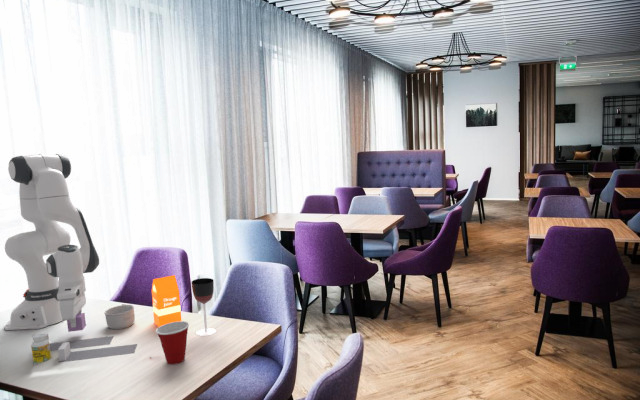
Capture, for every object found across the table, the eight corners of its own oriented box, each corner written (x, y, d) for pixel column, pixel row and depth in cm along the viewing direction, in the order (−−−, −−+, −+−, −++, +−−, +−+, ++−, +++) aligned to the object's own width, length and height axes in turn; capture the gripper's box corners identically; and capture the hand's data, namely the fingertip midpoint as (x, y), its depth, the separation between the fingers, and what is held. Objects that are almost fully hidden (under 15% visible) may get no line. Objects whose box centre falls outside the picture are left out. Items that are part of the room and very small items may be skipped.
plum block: (68, 331, 184) (66, 318, 183) (71, 327, 189) (70, 314, 188) (82, 330, 185) (81, 317, 184) (85, 325, 190) (84, 312, 189)
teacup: (128, 332, 191) (127, 313, 190) (101, 333, 192) (99, 313, 191) (142, 320, 205) (140, 301, 204) (116, 320, 205) (115, 302, 204)
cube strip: (37, 355, 173) (35, 341, 172) (44, 346, 180) (43, 333, 180) (109, 346, 178) (108, 333, 177) (114, 338, 185) (112, 325, 185)
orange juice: (182, 325, 196) (178, 277, 194) (159, 331, 192) (155, 281, 189) (175, 320, 203) (172, 273, 201) (154, 325, 198) (150, 277, 196)
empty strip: (58, 365, 164) (56, 350, 163) (65, 355, 172) (63, 341, 171) (134, 355, 169) (133, 341, 169) (137, 346, 177) (136, 333, 176)
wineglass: (202, 337, 183) (198, 285, 181) (191, 331, 189) (187, 281, 187) (221, 331, 188) (217, 281, 186) (209, 326, 195) (206, 276, 192)
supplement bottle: (53, 358, 171) (50, 331, 169) (48, 364, 165) (45, 337, 164) (36, 360, 169) (33, 333, 168) (31, 366, 164) (27, 339, 163)
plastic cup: (164, 354, 170) (161, 320, 169) (195, 353, 170) (193, 319, 168) (153, 368, 159) (150, 332, 158) (186, 367, 159) (183, 331, 157)
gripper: (70, 282, 194) (74, 316, 196) (55, 297, 175) (59, 334, 176) (87, 280, 196) (91, 314, 197) (74, 294, 176) (78, 332, 177)
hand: (76, 323), depth 187 cm, fingers closed on plum block, 5 cm apart
